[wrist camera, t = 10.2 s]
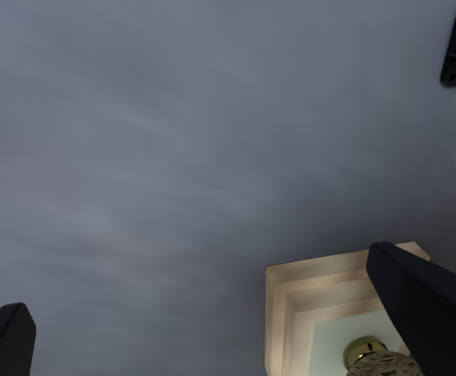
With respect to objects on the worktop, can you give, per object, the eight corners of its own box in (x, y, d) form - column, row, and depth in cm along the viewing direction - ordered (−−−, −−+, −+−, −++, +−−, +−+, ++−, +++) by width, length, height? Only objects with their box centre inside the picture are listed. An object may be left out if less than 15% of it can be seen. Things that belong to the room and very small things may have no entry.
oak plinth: (413, 241, 29) (451, 276, 25) (385, 339, 35) (411, 378, 32) (266, 266, 27) (283, 308, 23) (264, 365, 33) (278, 410, 30)
